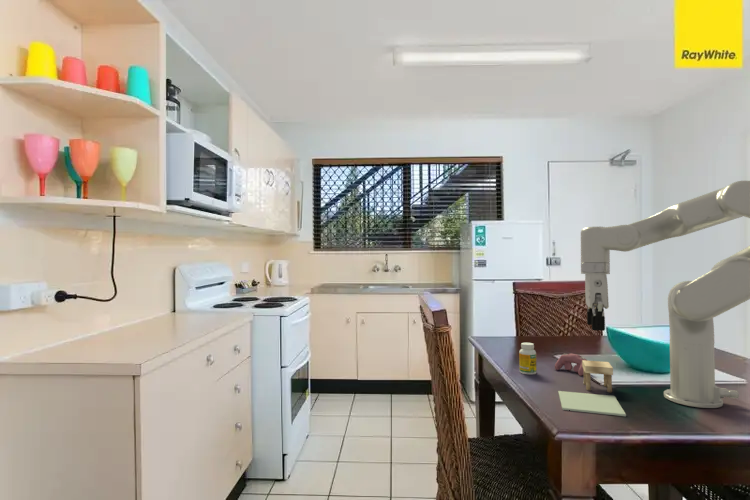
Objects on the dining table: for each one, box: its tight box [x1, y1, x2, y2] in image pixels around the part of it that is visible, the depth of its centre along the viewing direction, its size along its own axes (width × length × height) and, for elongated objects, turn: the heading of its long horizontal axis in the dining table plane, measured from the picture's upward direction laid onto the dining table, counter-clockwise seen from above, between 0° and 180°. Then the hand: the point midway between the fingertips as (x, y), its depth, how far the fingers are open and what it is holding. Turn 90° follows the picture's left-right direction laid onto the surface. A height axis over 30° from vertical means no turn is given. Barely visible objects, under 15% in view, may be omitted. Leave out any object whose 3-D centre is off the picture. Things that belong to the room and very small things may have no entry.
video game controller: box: [554, 352, 589, 377], centre depth 141 cm, size 10×5×7 cm, turn 34°
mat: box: [557, 390, 627, 417], centre depth 111 cm, size 14×14×1 cm
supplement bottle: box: [518, 342, 538, 376], centre depth 140 cm, size 5×5×10 cm
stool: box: [582, 359, 614, 393], centre depth 123 cm, size 7×7×7 cm
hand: (595, 327), depth 124 cm, fingers open, 9 cm apart
